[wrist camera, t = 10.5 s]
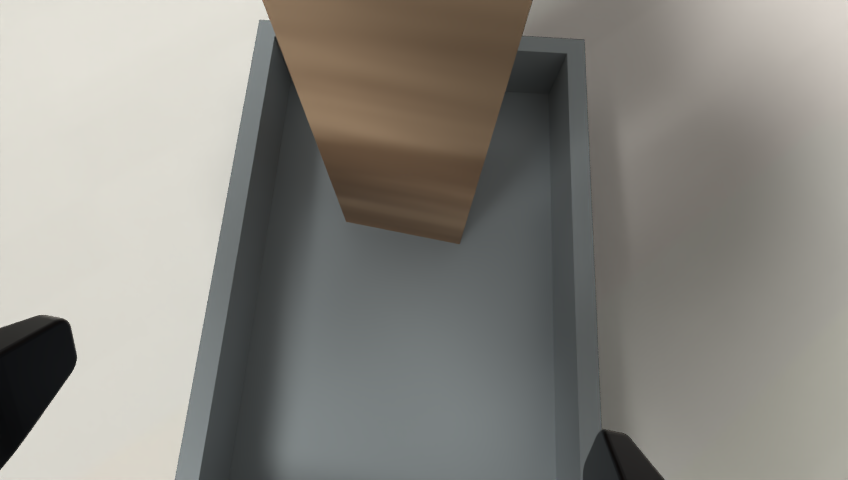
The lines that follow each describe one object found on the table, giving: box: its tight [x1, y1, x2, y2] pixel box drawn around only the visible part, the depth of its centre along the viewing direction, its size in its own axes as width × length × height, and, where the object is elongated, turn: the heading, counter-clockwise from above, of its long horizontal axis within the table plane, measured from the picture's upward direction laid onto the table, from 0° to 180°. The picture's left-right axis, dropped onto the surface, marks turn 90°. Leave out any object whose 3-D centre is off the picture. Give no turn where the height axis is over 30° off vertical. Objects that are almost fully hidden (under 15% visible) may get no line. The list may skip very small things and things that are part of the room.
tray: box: [175, 20, 602, 480], centre depth 16 cm, size 17×11×3 cm, turn 177°
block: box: [263, 0, 532, 244], centre depth 12 cm, size 4×4×13 cm
